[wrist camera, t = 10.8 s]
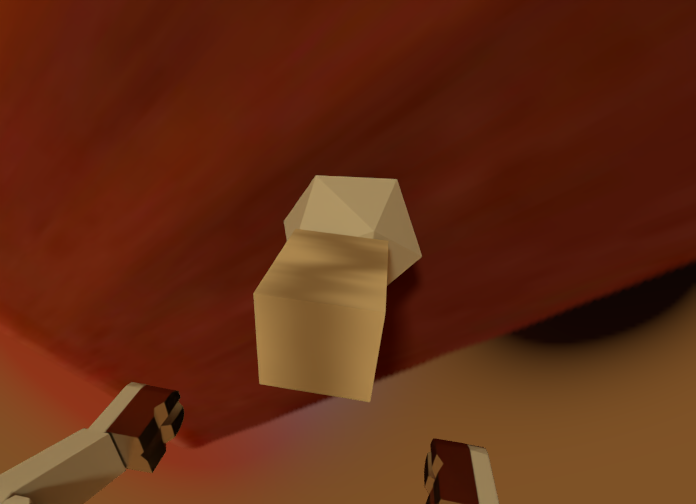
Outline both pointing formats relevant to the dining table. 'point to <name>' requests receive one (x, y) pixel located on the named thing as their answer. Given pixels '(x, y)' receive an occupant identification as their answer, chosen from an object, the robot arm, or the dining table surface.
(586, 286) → the dining table surface
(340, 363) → the beech block
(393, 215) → the die
